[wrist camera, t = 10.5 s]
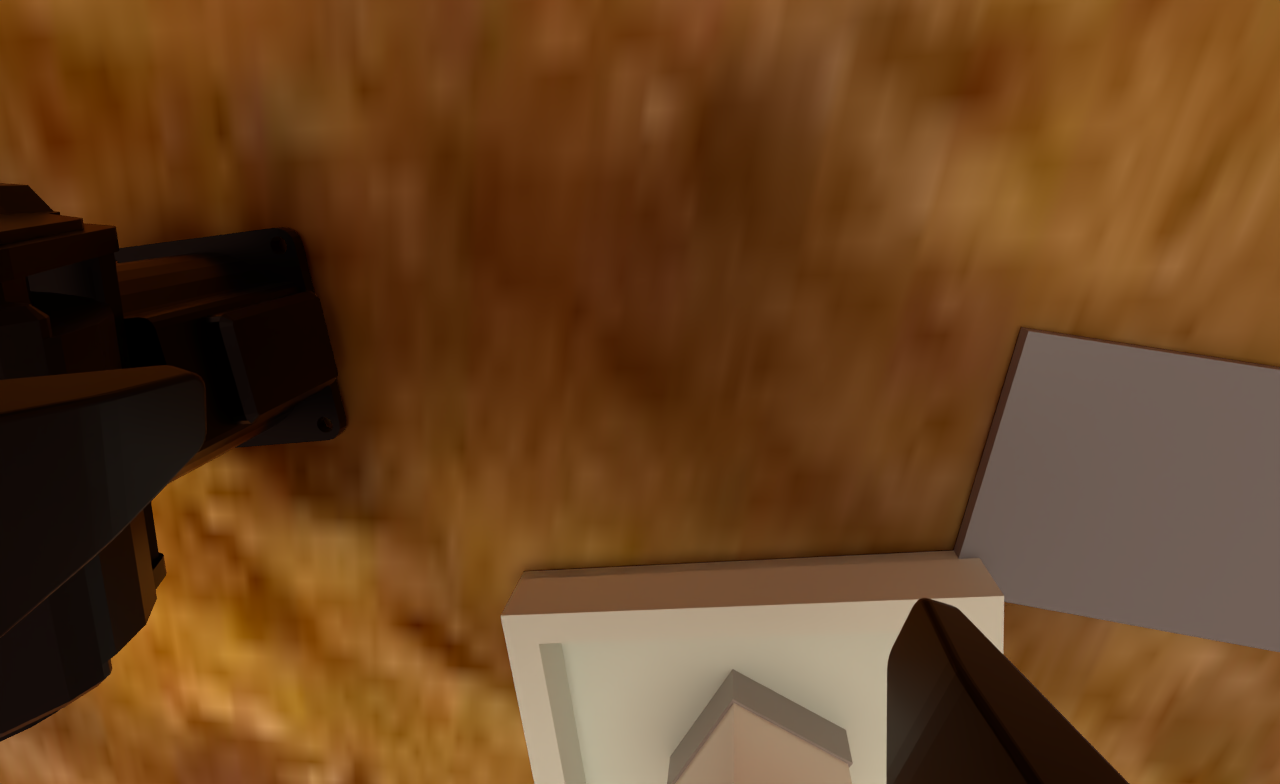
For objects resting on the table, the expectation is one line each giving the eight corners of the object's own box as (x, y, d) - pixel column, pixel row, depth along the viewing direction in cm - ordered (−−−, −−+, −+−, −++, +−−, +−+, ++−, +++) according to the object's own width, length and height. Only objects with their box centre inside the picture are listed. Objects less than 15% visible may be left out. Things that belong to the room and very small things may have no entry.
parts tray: (581, 877, 27) (567, 944, 25) (523, 571, 24) (500, 615, 21) (973, 884, 25) (998, 958, 23) (973, 549, 21) (1004, 595, 19)
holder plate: (943, 582, 22) (948, 591, 21) (1021, 327, 19) (1028, 331, 19) (1289, 645, 21) (1302, 656, 21) (1414, 388, 19) (1432, 393, 18)
